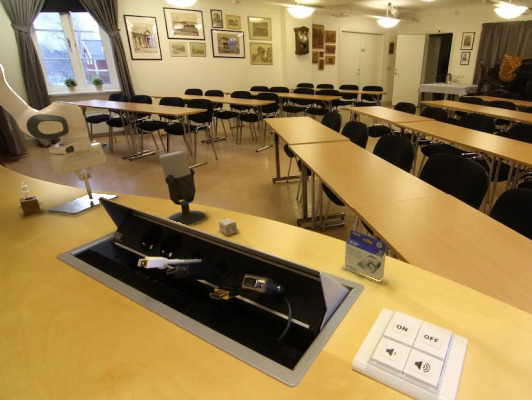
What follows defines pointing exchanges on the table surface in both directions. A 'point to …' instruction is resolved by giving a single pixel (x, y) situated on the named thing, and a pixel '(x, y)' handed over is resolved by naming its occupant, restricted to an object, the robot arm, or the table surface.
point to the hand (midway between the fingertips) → (85, 178)
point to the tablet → (80, 204)
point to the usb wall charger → (228, 226)
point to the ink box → (365, 256)
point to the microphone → (181, 186)
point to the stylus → (88, 186)
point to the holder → (30, 205)
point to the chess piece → (25, 189)
